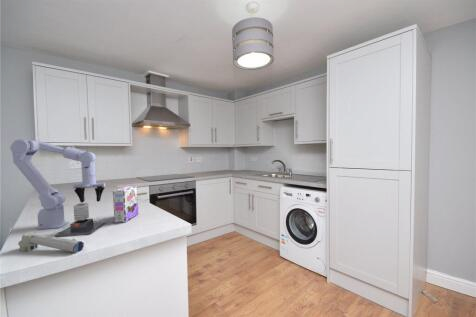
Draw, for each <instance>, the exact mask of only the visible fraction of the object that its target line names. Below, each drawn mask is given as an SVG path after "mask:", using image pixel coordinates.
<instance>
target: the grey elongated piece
mask: <svg viewBox="0 0 476 317" xmlns="http://www.w3.org/2000/svg"><path fill="white" fill-rule="evenodd" d="M17 245H18V246H19V250H20V251H21V252H26V251H29V250H30V251H33V250H36V249H38V248H39V246H42V247H47V248H53V249H56V250H61V251H64V252H66V253H75V254H76V253H77V254H78V253H79V252H81V251H83V248H84V247H85V242H83V241H81V240H77V239H75V238H72V239H71V238H63V237H54V236H49V235H48V236H47V235H39V234H37V233H36V232H34V231H30V232H25V233H23V234H22V235H21V239H20V241H18V242H17ZM30 251H29V252H30Z"/></svg>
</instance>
